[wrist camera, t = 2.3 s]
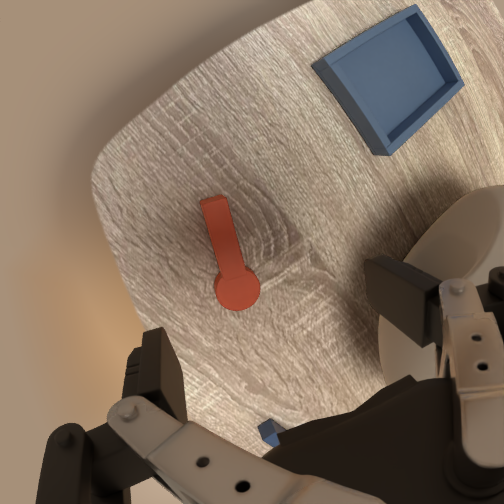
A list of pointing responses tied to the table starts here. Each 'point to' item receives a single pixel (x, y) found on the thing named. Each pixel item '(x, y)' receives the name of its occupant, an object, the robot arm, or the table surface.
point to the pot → (447, 271)
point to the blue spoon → (270, 432)
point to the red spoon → (229, 257)
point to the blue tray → (391, 79)
